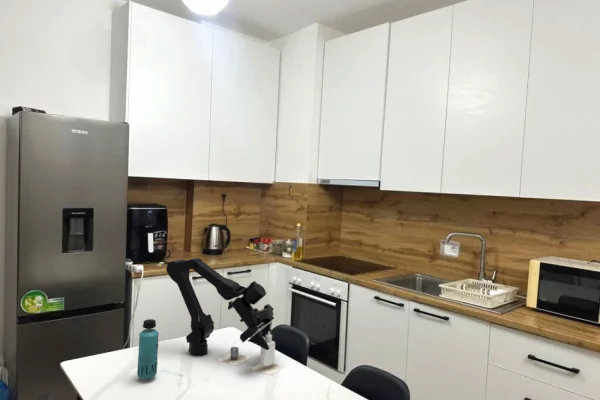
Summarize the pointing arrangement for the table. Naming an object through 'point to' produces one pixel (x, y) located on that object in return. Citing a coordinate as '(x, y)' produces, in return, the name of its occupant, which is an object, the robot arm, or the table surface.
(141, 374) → the beverage bottle
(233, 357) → the metal pin
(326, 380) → the table surface
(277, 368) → the board
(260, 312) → the robot arm
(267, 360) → the eye dropper bottle
